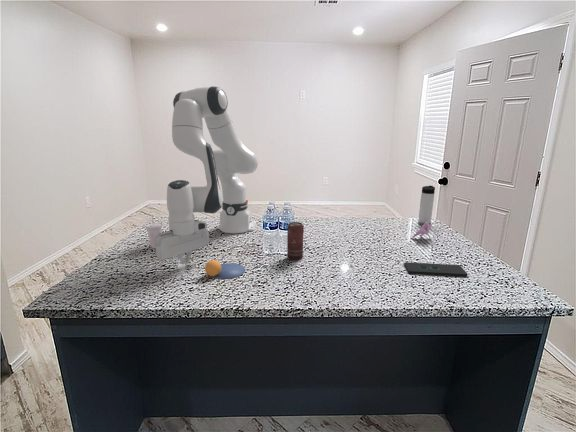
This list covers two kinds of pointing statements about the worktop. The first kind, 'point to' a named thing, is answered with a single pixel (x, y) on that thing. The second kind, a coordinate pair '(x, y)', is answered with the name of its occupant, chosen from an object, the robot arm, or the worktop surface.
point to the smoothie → (153, 232)
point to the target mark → (230, 271)
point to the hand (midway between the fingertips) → (185, 263)
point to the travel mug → (426, 204)
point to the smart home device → (435, 269)
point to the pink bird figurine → (424, 229)
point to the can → (295, 241)
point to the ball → (213, 268)
